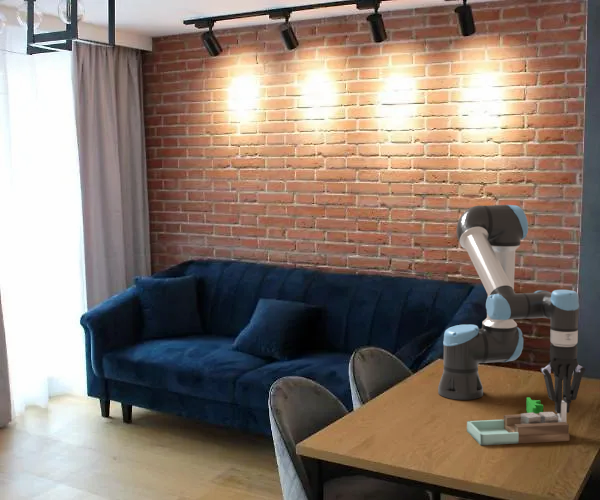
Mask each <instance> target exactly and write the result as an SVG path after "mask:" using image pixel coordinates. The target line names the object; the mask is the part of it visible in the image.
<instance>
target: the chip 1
mask: <svg viewBox="0 0 600 500" xmlns="http://www.w3.org/2000/svg"><path fill="white" fill-rule="evenodd" d="M520 414H521V424H534V423H541V416H539V415H537V414H535V413H533V412H531V413H527V412H524V413H520Z"/></svg>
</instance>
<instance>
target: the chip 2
mask: <svg viewBox="0 0 600 500" xmlns="http://www.w3.org/2000/svg"><path fill="white" fill-rule="evenodd" d="M539 416H541V423H554V422H558V420H559V416H558V415H557V413H556V412H555V411H554V412H553V411H543V412H539Z"/></svg>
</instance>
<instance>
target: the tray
mask: <svg viewBox="0 0 600 500" xmlns="http://www.w3.org/2000/svg"><path fill="white" fill-rule="evenodd" d="M466 432H467V433H468V434H469V435H470V436H471V437H472V438H473V440H475V441H476V442H477V443H478V444H479V446H495V445H511V444H519V443H518V439H519V433H518V432H510V433H509V432H507V431H506V430H505V429H504V419H488V420H487V419H486V420H482V419H481V420H467V421H466Z"/></svg>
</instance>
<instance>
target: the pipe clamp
mask: <svg viewBox="0 0 600 500" xmlns="http://www.w3.org/2000/svg"><path fill="white" fill-rule="evenodd" d="M541 402H542V401H541V399H538V400H537V399H536V400H535V399H531V397H528V396H527V397H526V402H525V404H526V405H525V409H526V413H531V412H533V413H535V414H539V412H544V404H542V403H541Z"/></svg>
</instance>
